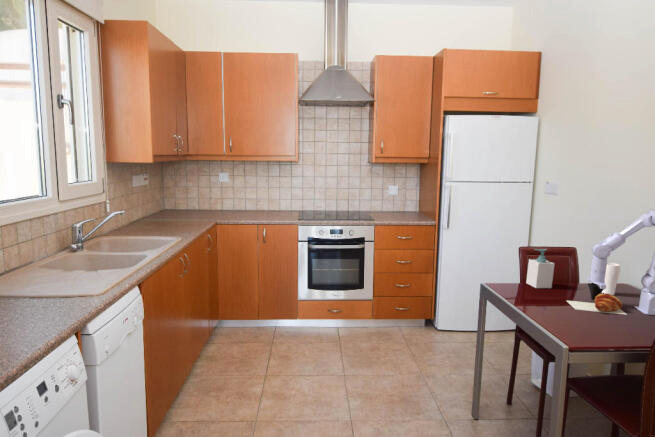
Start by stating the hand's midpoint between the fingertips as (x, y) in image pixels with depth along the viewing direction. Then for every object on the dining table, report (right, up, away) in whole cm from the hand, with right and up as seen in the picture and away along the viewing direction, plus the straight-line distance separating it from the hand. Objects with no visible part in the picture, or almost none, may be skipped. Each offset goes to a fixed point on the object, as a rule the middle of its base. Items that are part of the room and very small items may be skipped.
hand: (594, 300), depth 196 cm
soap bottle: (-13, +2, +25) cm, 29 cm away
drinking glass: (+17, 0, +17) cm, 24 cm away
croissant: (+2, -3, -6) cm, 7 cm away
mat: (-3, -2, -5) cm, 6 cm away
